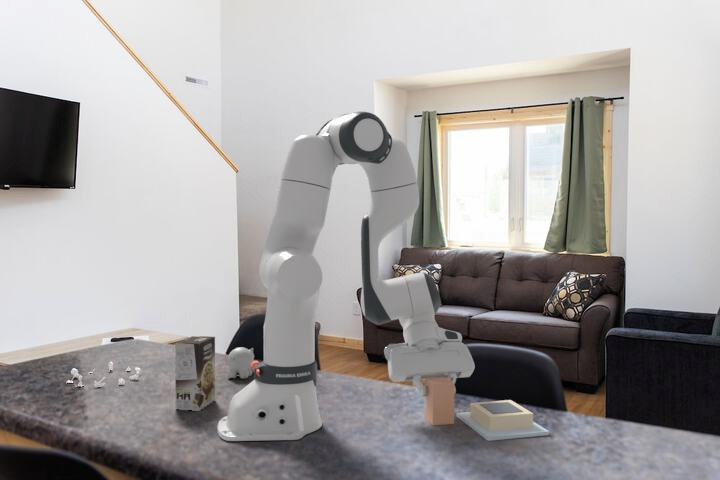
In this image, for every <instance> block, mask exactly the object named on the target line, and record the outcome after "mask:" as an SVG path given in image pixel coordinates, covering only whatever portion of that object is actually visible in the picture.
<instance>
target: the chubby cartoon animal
mask: <svg viewBox="0 0 720 480" xmlns="http://www.w3.org/2000/svg"><path fill="white" fill-rule="evenodd" d="M254 359H255V354H254V347H252V348H250V349H248V348H247V347H244V346H243V347H242V346H241V347H235V348H234V349H232V350H231V351H230V352H229V354H228V356H227V365H228V371H227V374H226V376H227V378H228V379H230V378H234V379H236V378H237V377H239V378H240V379H243V380H244V379H248V378H249V377H251V376H252V375H253V374H252V373H253V370H252V368H251V363H252V362H253V361H255V360H254ZM237 375H239V376H237ZM248 376H249V377H248Z"/></svg>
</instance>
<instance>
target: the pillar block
mask: <svg viewBox="0 0 720 480" xmlns="http://www.w3.org/2000/svg"><path fill="white" fill-rule="evenodd" d="M454 385H455V384H454V383H453V382H452V381H450V380H449V379H448V378H433V379H425V380H424V386H428V390H429V395H428V396H425V397H424V401H425V402H424V419H425V420H426V421H427V422H428V423H429V424H430V425H432V426H442V425H443V426H445V425H454V424H455V394H454Z"/></svg>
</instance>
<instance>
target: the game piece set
mask: <svg viewBox="0 0 720 480" xmlns="http://www.w3.org/2000/svg"><path fill="white" fill-rule="evenodd" d="M108 369H109V370H108V371H110V370H112V371H113V369H114V363H113V362H112V361H110V362H109V363H108ZM95 370H96V369H95V368H93V370H92V371H89V372H88V374H89V373H93V374H94V371H95ZM130 370H131V371H132V369H131V368H130V366H127V368H126V370H125V371H130ZM134 370H135V372H136V373H135V374H134V375H131V376H129V379H131V380H134V379H136V380H137V379H139V376H140V375H138V374H141V367H134ZM70 374H71V375H73V377H72V379H71V380H69V379H68V380H67V381H66V384H67V383H73V382H74V381H73V380H74V377H77V379H78V383H77V384H76V385H75V387H77V386H81V387H82V386H85V383H83V381H82V378H83V376H82V375H81V374H79V370H78V369H76V368H72V369H71V370H70ZM104 379H106V376H103V378H101V380H99V381H96V380H94V385H93V387H101V386H103V387H104V386H105V385H106V382H103V380H104ZM102 382H103V383H102ZM117 383H118V384H125V385H126V382H125V379H124V378H123V377H122V378H119V379H118V382H117Z"/></svg>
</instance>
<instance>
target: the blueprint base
mask: <svg viewBox="0 0 720 480" xmlns="http://www.w3.org/2000/svg"><path fill="white" fill-rule="evenodd" d="M469 404H470V405H469V406H470V407H469V409H470V410H469V411H463V412H456V417H457V418H458V419H460V420H461V421H462V422H463V423H465V424H466V425H467V426H468V427H469V428H471V429H472V430H473V431H474V432H476V433H477V434H478V435H479V436H480V437H482V438H483V439H484V440H485V441H487V442H491V441H499V440H500V441H502V440H511V439H519V438H520V439H522V438H533V437H541V436H542V437H544V436H550V430H548V429H546V428H545V427H543V426H541V425H540V424H539V423H538V422H537V423H536V422H535V421H534V413H533V412H531V411H530V410H528V409H527V408H525V407H523V406H521V405H520V404H518V403H516V401H513V400H512V399H504V400H495V401H494V400H493V401H480V402H470V403H469Z"/></svg>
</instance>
